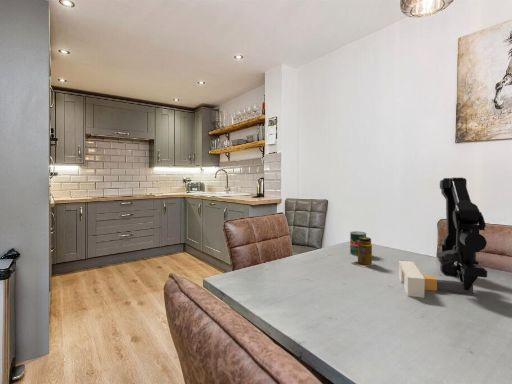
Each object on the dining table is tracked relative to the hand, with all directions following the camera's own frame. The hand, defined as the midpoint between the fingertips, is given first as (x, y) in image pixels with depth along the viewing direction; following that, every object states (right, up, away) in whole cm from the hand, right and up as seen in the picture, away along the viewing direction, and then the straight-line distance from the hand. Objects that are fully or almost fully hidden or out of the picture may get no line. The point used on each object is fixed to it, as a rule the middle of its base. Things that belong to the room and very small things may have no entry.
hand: (464, 288), depth 101 cm
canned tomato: (-19, +1, +51) cm, 54 cm away
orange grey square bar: (-5, -1, +2) cm, 6 cm away
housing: (-16, -1, +5) cm, 17 cm away
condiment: (-23, 0, +33) cm, 40 cm away
